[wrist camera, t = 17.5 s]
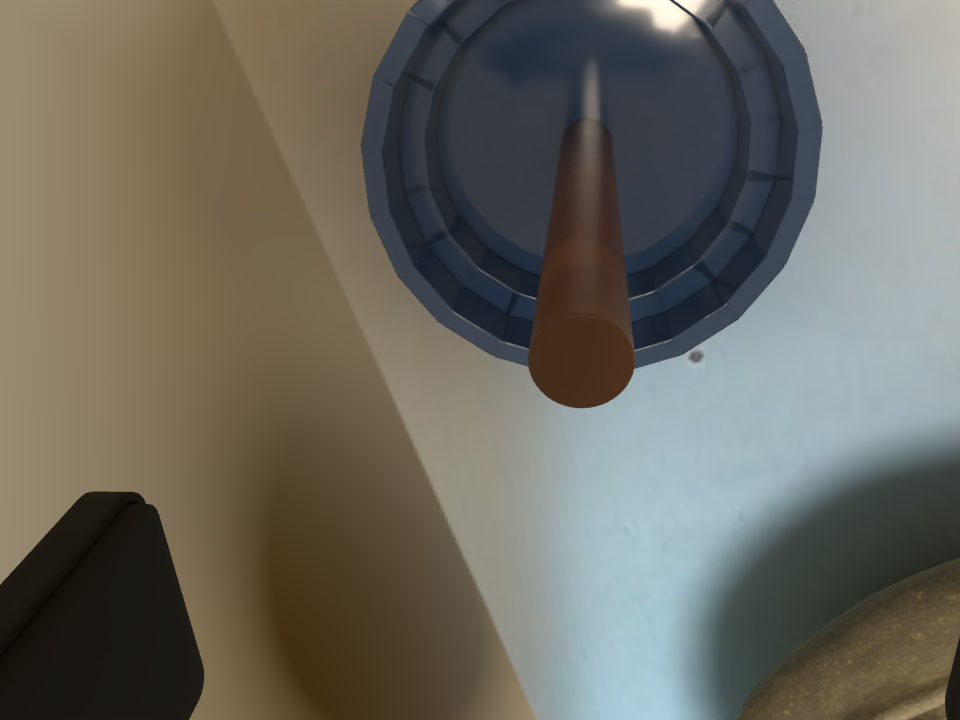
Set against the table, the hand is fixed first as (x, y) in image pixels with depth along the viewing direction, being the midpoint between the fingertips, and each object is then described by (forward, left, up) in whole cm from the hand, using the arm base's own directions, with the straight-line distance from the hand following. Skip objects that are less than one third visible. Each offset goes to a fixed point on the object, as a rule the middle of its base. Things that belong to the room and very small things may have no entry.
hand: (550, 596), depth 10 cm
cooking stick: (0, 0, -27) cm, 27 cm away
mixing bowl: (0, 0, -27) cm, 27 cm away
